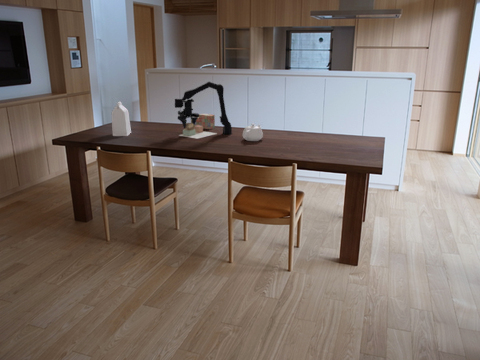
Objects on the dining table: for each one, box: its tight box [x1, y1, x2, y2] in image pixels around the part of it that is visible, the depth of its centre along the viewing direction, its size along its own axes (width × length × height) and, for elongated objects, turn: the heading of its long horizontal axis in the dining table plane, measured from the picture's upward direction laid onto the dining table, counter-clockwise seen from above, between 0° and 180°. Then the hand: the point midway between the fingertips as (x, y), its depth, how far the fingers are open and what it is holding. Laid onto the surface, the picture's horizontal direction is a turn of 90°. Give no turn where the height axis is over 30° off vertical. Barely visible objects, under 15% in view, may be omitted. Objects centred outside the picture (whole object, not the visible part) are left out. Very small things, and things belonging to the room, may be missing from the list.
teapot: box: [242, 123, 264, 142], centre depth 313 cm, size 25×16×12 cm, turn 153°
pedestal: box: [182, 129, 196, 136], centre depth 329 cm, size 7×7×4 cm
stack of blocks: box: [190, 113, 216, 130], centre depth 356 cm, size 21×6×12 cm, turn 57°
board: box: [178, 130, 218, 140], centre depth 330 cm, size 20×24×1 cm
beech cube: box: [184, 122, 194, 131], centre depth 327 cm, size 5×5×5 cm
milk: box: [111, 101, 132, 137], centre depth 330 cm, size 12×12×26 cm
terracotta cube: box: [194, 125, 204, 133], centre depth 338 cm, size 5×5×5 cm
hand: (189, 127), depth 327 cm, fingers open, 9 cm apart
